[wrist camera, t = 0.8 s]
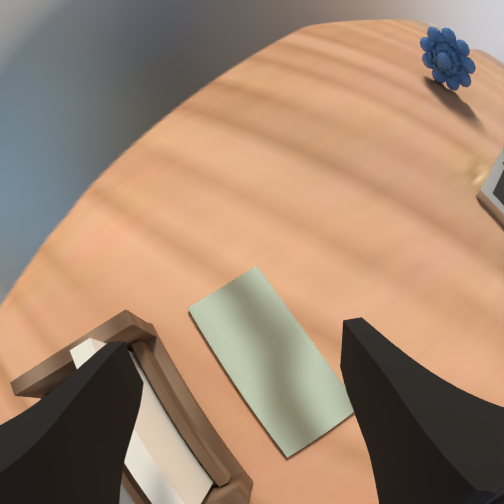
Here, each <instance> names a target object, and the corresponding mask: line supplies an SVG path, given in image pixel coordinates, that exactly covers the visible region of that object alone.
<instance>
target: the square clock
mask: <svg viewBox="0 0 504 504" xmlns="http://www.w3.org/2000/svg"><path fill="white" fill-rule="evenodd" d="M476 197H477V198H478V199H479V200H480V201H481V202H482V203H483V204H484V205H485V206H486V207H487V208H488V209H489V210H490V211H491V213H492V214H493V215H494V216H495V217H496V218H497V219H498V220H499V221H500V222H501V224H502V225H503V226H504V144H503V146H502V148H501V150H500V152H499V154H498V156H497V158H496V160H495V162H494V164H493V166H492V168H491V170H490V172H489V173H488V175H487V177H486V179H485V181H484V182H483V184H482V186H481V188H480V189H479V191H478V193H477V194H476Z"/></svg>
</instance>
